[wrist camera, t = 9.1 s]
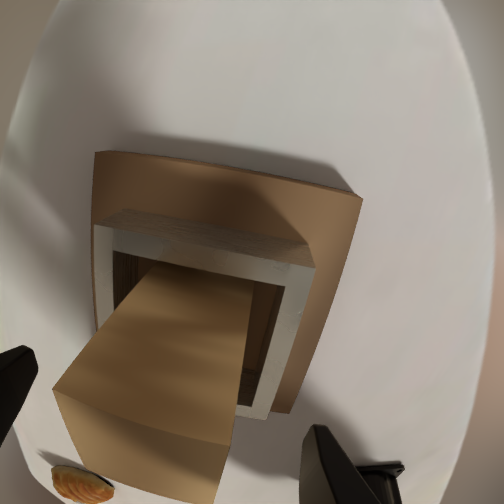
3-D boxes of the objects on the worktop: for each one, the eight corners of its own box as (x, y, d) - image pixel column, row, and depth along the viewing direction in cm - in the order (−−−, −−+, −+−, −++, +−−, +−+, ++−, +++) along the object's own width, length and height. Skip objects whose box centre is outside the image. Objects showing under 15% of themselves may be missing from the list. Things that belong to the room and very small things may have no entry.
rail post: (255, 276, 13) (230, 446, 5) (238, 351, 14) (211, 507, 7) (161, 257, 13) (52, 389, 5) (157, 333, 14) (85, 469, 7)
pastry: (88, 463, 24) (76, 488, 20) (130, 493, 25) (122, 517, 22) (52, 462, 26) (41, 482, 22) (88, 489, 28) (80, 509, 24)
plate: (355, 193, 12) (363, 198, 11) (288, 398, 17) (289, 413, 15) (108, 150, 12) (95, 152, 11) (109, 357, 17) (101, 369, 15)
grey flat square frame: (308, 243, 12) (315, 268, 10) (267, 383, 15) (266, 420, 12) (124, 208, 12) (94, 224, 10) (125, 350, 15) (105, 380, 12)
